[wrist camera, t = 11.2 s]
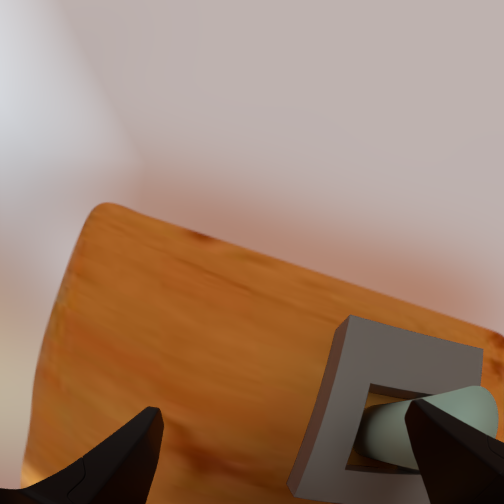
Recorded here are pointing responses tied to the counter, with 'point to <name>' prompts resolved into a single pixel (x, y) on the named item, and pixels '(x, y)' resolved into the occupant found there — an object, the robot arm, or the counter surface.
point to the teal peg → (395, 432)
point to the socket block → (353, 401)
